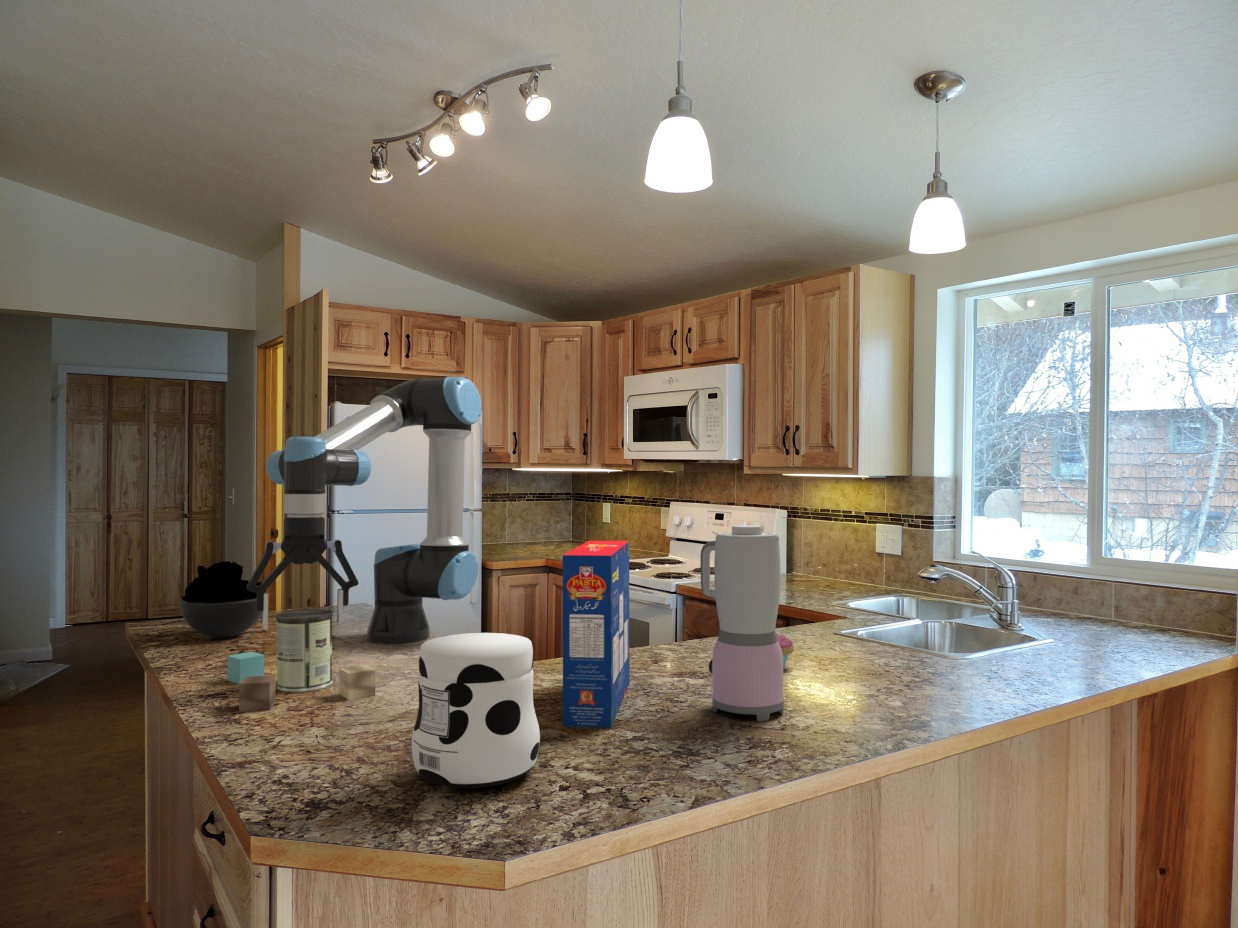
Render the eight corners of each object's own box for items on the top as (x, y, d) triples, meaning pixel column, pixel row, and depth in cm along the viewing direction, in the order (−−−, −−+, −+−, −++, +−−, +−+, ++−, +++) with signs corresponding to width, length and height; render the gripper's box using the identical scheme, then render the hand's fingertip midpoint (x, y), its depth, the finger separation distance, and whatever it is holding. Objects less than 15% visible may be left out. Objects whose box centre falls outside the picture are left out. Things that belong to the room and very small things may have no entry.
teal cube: (251, 675, 169) (251, 651, 169) (264, 679, 165) (264, 654, 166) (227, 680, 165) (227, 655, 165) (239, 684, 162) (239, 659, 162)
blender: (797, 709, 144) (796, 525, 144) (762, 726, 134) (761, 529, 134) (720, 694, 154) (719, 522, 154) (682, 708, 144) (682, 525, 144)
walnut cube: (275, 702, 149) (275, 675, 149) (269, 710, 144) (269, 682, 144) (245, 704, 148) (245, 676, 148) (239, 712, 143) (239, 683, 143)
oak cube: (365, 690, 157) (365, 664, 157) (375, 696, 153) (375, 669, 153) (339, 694, 154) (339, 668, 154) (348, 700, 150) (348, 673, 150)
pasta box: (589, 682, 163) (588, 540, 163) (629, 683, 162) (629, 540, 162) (562, 726, 135) (562, 555, 135) (611, 727, 134) (611, 555, 134)
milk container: (543, 752, 122) (543, 630, 122) (535, 798, 105) (535, 656, 105) (425, 753, 122) (425, 631, 122) (398, 800, 104) (398, 658, 105)
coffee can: (292, 678, 166) (292, 608, 166) (341, 679, 165) (341, 608, 165) (265, 691, 156) (265, 617, 156) (317, 693, 155) (317, 618, 155)
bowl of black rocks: (255, 626, 222) (255, 556, 222) (277, 638, 206) (277, 562, 206) (171, 635, 209) (171, 561, 209) (188, 649, 193) (188, 568, 194)
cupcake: (748, 670, 172) (748, 612, 172) (757, 661, 180) (757, 606, 180) (790, 674, 169) (789, 615, 169) (797, 664, 177) (797, 608, 177)
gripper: (367, 514, 170) (365, 617, 169) (233, 516, 159) (231, 626, 158) (373, 515, 163) (372, 623, 163) (234, 517, 152) (232, 633, 151)
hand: (303, 625), depth 160 cm, fingers open, 13 cm apart
